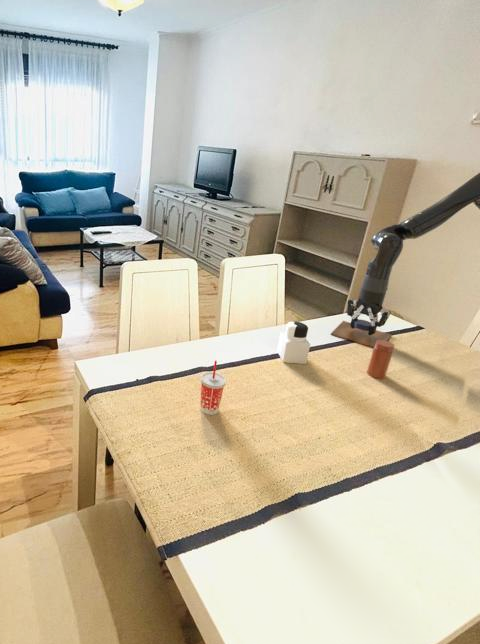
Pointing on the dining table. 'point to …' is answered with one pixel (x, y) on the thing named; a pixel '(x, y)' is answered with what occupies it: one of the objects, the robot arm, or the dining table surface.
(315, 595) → the dining table surface
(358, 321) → the lid
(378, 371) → the jar
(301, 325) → the medicine bottle
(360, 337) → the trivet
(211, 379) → the beverage cup
